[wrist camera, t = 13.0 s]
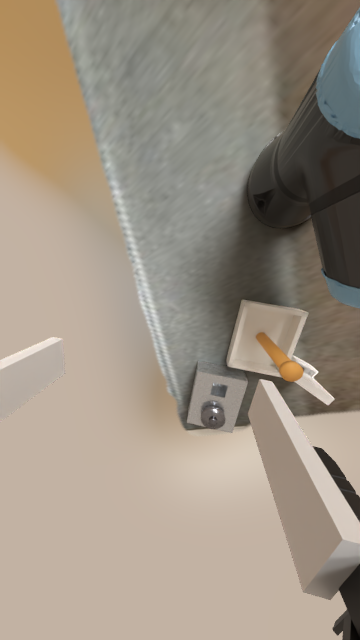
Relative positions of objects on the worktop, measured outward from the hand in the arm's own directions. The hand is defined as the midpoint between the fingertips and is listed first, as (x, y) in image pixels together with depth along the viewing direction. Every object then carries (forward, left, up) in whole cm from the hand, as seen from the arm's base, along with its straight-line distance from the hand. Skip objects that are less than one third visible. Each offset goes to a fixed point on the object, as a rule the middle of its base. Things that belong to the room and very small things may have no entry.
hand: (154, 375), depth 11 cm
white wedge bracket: (+12, +29, -32) cm, 45 cm away
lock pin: (+6, +19, -31) cm, 37 cm away
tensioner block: (+24, +11, -32) cm, 41 cm away
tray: (+6, +19, -32) cm, 37 cm away
